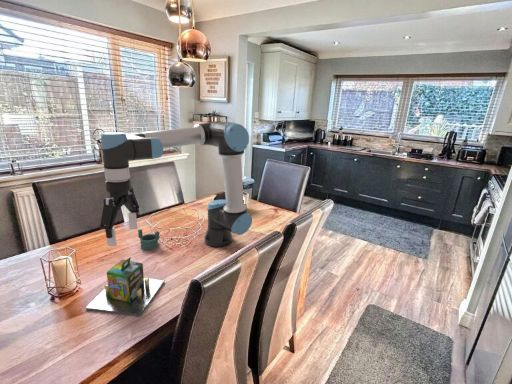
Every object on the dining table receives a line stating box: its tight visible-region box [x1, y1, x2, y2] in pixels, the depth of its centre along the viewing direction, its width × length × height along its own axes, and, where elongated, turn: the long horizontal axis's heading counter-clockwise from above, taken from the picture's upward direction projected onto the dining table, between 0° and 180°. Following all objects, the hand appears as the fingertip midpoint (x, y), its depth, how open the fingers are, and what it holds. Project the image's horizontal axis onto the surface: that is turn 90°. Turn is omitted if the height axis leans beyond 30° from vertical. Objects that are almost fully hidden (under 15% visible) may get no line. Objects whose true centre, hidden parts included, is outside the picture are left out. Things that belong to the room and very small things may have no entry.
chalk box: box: [106, 256, 145, 303], centre depth 104 cm, size 9×9×15 cm
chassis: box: [85, 277, 165, 317], centre depth 106 cm, size 20×20×6 cm
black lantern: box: [213, 191, 247, 201], centre depth 201 cm, size 15×15×25 cm
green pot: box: [137, 229, 160, 251], centre depth 142 cm, size 9×9×9 cm
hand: (123, 236), depth 100 cm, fingers open, 13 cm apart
